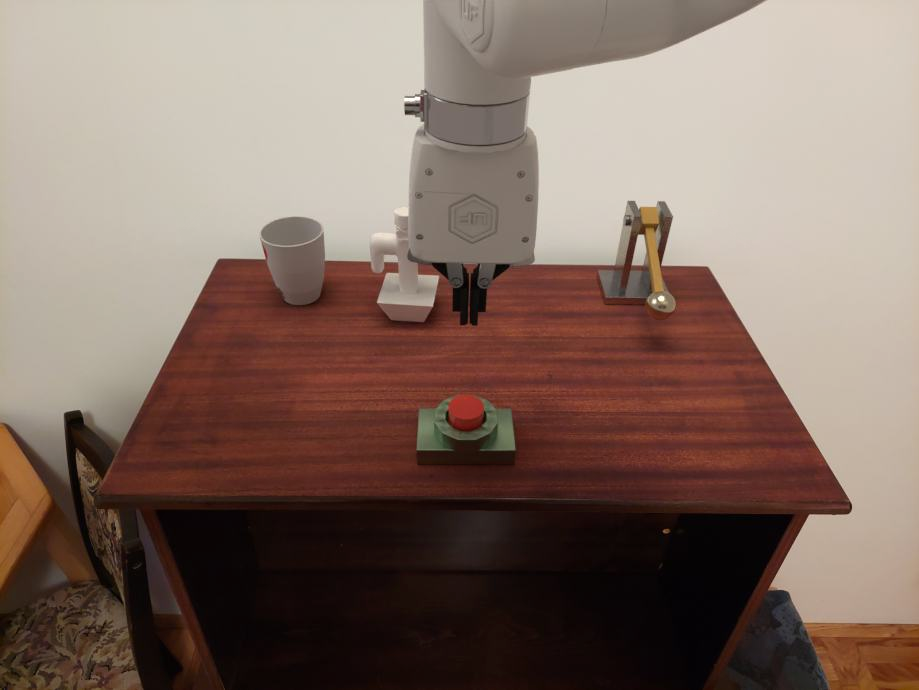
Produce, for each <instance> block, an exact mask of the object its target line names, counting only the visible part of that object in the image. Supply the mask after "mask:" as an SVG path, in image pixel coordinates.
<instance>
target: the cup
mask: <svg viewBox="0 0 919 690" xmlns="http://www.w3.org/2000/svg"><path fill="white" fill-rule="evenodd" d="M258 235H259V239H260V243H261V247H262V250H263V253H264V257H265V262H266V265H267V267H268V270H269V272H270V276H271V278H272V280H273V282H274V285H275V287H276V288H277V290H278V292H279V293H280V295H281V297H282V298H283V300H284V302H286V303H287V304H289V305H292V306H306V305H310V304H312V303H314V302H316V301H317V300H318V299H319V298H320V296H321V294H322V293H321V292H322V290H323V289H322V288H323V284H324V279H325V268H326V267H325V266H326V265H325V264H326V250H325V249H326V246H325V232H324V225H323V224H322V223H321V222H320V221H319V220H317V219H315V218H312V217H309V216H300V215H295V216H293V215H292V216H285V217H284V216H283V217H280V218H277V219H273V220H271V221H269V222H267V223H265V225H263V226H262V227H261V228H260V230H259V234H258Z"/></svg>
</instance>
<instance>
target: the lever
mask: <svg viewBox="0 0 919 690" xmlns="http://www.w3.org/2000/svg"><path fill="white" fill-rule="evenodd" d="M638 209H639V211H640V213H641V215H642V218H641V223H640V228H639V232H638V236H643V237H644V238H643V239H644V243H645V250H646V251H647V258H648V264H649V271H650V277H651V284H652V290H653V293H652V294H651V295H650V296H649V297H648V298H647V300H646V303H645V305H644V308H645V311H646V313H647V315H648V316H649V318H651V319H653V320H655V321H666V320H668V319H669V318H671V317H672V316H673V315H674V314H675V312H676V309H677V302H676V298H675V297H674V295H672V294H671V293H670V292H669V291H668V292H669V293H668V292H665V291H664V288H663V282H662V278H663V276H662V269H660V264H659V258H658V251H657V245H656V239H655V232H656V230H657V228H658V226H659V219H658V213H657V207H656V206H639V207H638ZM646 251H645V252H646Z"/></svg>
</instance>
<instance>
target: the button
mask: <svg viewBox="0 0 919 690" xmlns="http://www.w3.org/2000/svg"><path fill="white" fill-rule="evenodd" d="M458 395H459V396H457V397H455V398H453V399H452V400H451V401H450V403H449V407H448V419H449V423H450V424H451V426H452V427H454V428H455V429H457V430H460V431H473V430H476V429H477V428H479V427H480V426H481V425H482V423H483V419H484V404H483V402H482V401H481V400H480V399H479V398H477V397H475V396H473V395H474V394H458Z"/></svg>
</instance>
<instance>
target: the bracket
mask: <svg viewBox="0 0 919 690" xmlns="http://www.w3.org/2000/svg"><path fill="white" fill-rule="evenodd" d="M655 207H657V213H658V219H659V226H658V228H657V230H656V232H655V239H656V245H657V251H658V258H659V264H660V270H662V269H661V268H662V265H663V259H664V256H665V252H666V247H667V244H668V239H669V237H670V236H669V235H670V232H671V227H672V224H673V219H674V214H673V213H672V212H671V210H670V208H669V206H668V204H667V203H666V201H665V200H657V202H656V206H655ZM641 218H642V215H641V213H640V211H639V207H638V204H637V202H636V200H627V201H626V206H625V211H624V216H623V218H622V222H623V223H622V226H621V233H620V236H619V237H620V239H619V242H618V246H617V247H618V248H617V251H616V252H617V253H616V257H615V258H616V259H615V262H614V268H613V269H611V270H610V269H597V271H596V280H597V283H598V286H599V289H600V293H601V296H602V299H603V303H604V305H632V306H633V305H636V306H638V305H639V306H640V305H642V306H643V305H644V306H645V303H646V300H647V298H648V297H649V296H650V295H651V294H652V293H653V290H652V284H651V277H650V271H649V264H648V258H647V251H645V256H644V260H643V265H642V269H641V270H632V265H633V260H634V255H635V251H636V246H637V241H638V237H639V235H638V232H639V228H640V223H641ZM662 282H663V288H664V291H665V292H668V293H670V292H669V289H668V287H667V285H666V283H665V280H664V278H663V277H662Z"/></svg>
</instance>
